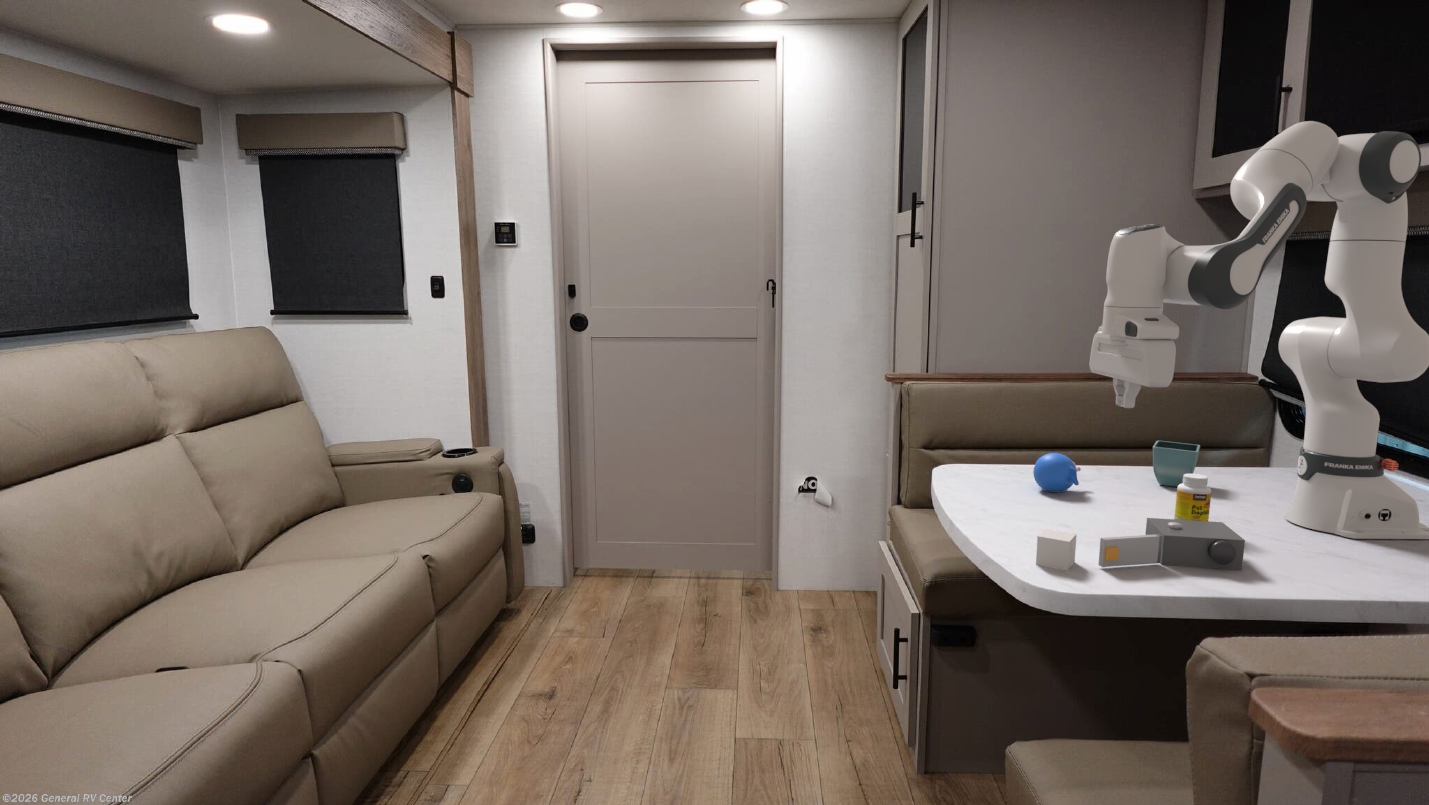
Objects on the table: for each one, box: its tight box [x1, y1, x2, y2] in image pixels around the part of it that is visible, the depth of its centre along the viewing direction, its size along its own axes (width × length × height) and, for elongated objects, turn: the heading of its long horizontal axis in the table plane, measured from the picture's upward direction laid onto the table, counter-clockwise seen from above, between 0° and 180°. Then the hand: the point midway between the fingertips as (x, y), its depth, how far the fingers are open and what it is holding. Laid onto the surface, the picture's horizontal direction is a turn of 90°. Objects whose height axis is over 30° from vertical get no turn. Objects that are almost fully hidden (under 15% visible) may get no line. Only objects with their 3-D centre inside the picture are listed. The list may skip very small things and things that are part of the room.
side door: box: [1098, 534, 1162, 568], centre depth 140 cm, size 2×11×5 cm, turn 101°
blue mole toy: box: [1032, 452, 1082, 493], centre depth 187 cm, size 12×12×8 cm
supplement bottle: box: [1173, 473, 1212, 521], centre depth 160 cm, size 6×6×10 cm
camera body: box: [1145, 517, 1246, 571], centre depth 144 cm, size 12×12×6 cm
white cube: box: [1035, 528, 1078, 571], centre depth 142 cm, size 5×5×5 cm
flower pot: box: [1152, 440, 1201, 488], centre depth 193 cm, size 9×9×9 cm
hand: (1124, 406), depth 145 cm, fingers closed
